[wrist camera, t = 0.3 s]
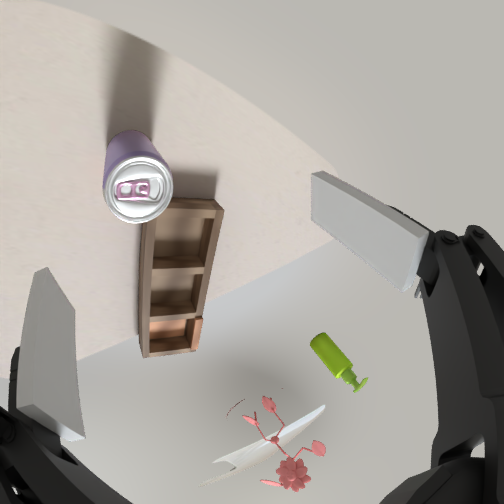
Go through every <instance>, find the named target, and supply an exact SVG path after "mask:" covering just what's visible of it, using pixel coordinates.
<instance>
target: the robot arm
mask: <svg viewBox="0 0 504 504" xmlns="http://www.w3.org/2000/svg"><path fill="white" fill-rule="evenodd" d="M311 221H313V222H314V223H315V224H317V225H318V226H319V227H321V228H322V229H323V230H325V231H326V232H327V233H329V234H330V235H331V236H333V237H334V238H335V239H336V240H338V241H339V242H340V243H342V244H343V245H344V246H346V247H347V248H348V249H350V251H352V252H353V253H354V254H355V255H357V256H358V257H359V258H361V259H362V260H363V261H364V262H365V263H367V264H368V265H369V266H370V267H372V268H373V269H374V270H375V271H376V272H378V273H379V274H380V275H381V276H382V277H384V278H385V279H386V280H387V281H388V282H390V283H391V284H392V285H393V286H394V287H396V288H397V289H398V290H399V291H400V292H404V291H405V290H407V289H408V288H409V287H411V286H412V285H413V282H414V279H415V277H416V274H417V275H418V276H419V277H421V279H420V282H419V284H418V287H417V289H416V292H415V298H417V296H418V294H419V292H420V291H421V296H420V298H423V303H424V307H425V312H426V317H427V323H428V328H429V334H430V340H431V346H432V353H433V360H434V368H435V376H436V388H437V401H438V419H439V420H438V421H439V427H438V432H437V434H436V436H435V438H434V441H433V445H432V453H431V454H432V455H431V469H430V470H428V471H426V472H423V473H421V474H418V475H416V476H413V477H410V478H408V479H407V480H405V481H404V482H403V483H402V484H401V485H399V486H398V487H397V488H396V489H394V490H393V491H392V492H391V493H389V494H388V495H387V496H386V497H385V498H384V499H383V500H382V501H381V502H380V504H504V251H503V250H502V249H501V248H500V246H499V245H498V244H497V243H496V242H495V240H494V239H493V238H492V237H491V236H490V235H489V234H488V233H487V232H486V231H485V230H484V229H483V228H481V227H480V226H476V225H469V226H468V227H467V229H466V232H465V235H464V236H459V237H458V236H457V235H455V234H454V233H452V232H450V231H445V230H440V231H437V232H436V233H434V232H433V231H431V230H430V229H428V228H427V227H425V226H424V225H422V224H421V223H419V222H417V221H416V220H414V219H413V218H410V217H409V216H408V215H406V214H403V212H401V211H399V210H398V209H396V208H394V207H392V206H388V205H386V204H384V203H382V202H380V201H379V200H377V199H375V198H373V197H372V196H370V195H368V194H366V193H364V192H362V191H361V190H359V189H357V188H355V187H353V186H352V185H350V184H348V183H346V182H344V181H342V180H340V179H338V178H337V177H335V176H333V175H331V174H329V173H327V172H325V171H320V172H316V173H312V174H311ZM480 263H482V264H483V266H484V269H483V271H482V273H481V275H480V276H479V275H478V274H477V270H478V268H479V265H480ZM10 371H11V373H10V383H9V399H8V411H6V410H5V409H3V408H2V407H1V406H0V504H132V503H131V502H130V501H128V500H127V499H125V498H124V497H123V496H121V495H120V494H119V493H117V492H116V491H115V490H113V489H112V488H111V487H109V486H108V485H107V484H106V483H104V482H103V481H102V480H101V479H100V478H98V477H97V476H96V475H95V474H93V473H92V472H91V471H90V470H89V469H88V468H87V467H85V466H84V465H83V464H82V463H81V462H80V461H79V460H78V459H77V458H76V457H75V456H74V455H73V454H72V453H70V452H69V450H68V449H67V448H65V447H64V446H62V445H61V443H60V437H62V438H64V439H65V440H67V441H69V442H71V441H76V440H80V439H85V438H86V437H85V432H84V426H83V420H82V413H81V407H80V398H79V389H78V379H77V368H76V345H75V309H74V308H73V306H72V305H71V303H70V302H69V300H68V299H67V297H66V296H65V294H64V293H63V291H62V290H61V288H60V286H59V285H58V283H57V282H56V280H55V278H54V277H53V275H52V273H51V272H50V270H49V268H48V267H46V268H44V269H42V270H39V271H37V272H35V273H34V277H33V281H32V285H31V289H30V294H29V298H28V303H27V308H26V313H25V318H24V324H23V330H22V337H21V345H20V347H17V348H16V349H15V352H14V354H13V357H12V359H11V369H10ZM483 442H485V458H479V457H471V452H472V450H473V449H474V448H475V447H476V446H478V445H479V444H481V443H483ZM12 487H14V488H16V490H17V493H18V494H15V492H14V490H13V488H12Z"/></svg>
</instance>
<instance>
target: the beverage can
mask: <svg viewBox="0 0 504 504" xmlns="http://www.w3.org/2000/svg"><path fill="white" fill-rule="evenodd" d="M172 194H173V177H172V173H171V170H170V168H169V166H168V165H167V163H166V162H165V160H164V159H163V158H162V156H161V155H160V154H159V152H158V151H157V150H156V148H155V147H154V145H153V144H152V143H151V141H150V140H149V139H148V137H147V136H146V135H145V134H143V133H141V132H139V131H136V130H127V131H123V132H121V133H119V134H117V135H116V136H115V137H114V138H113V139H112V140H111V141H110V143H109V145H108V147H107V151H106V158H105V167H104V176H103V196H104V199H105V202H106V204H107V205H108V207H109V209H110V210H111V212H112V213H113V214H114V215H115V216H116V217H118V218H119V219H121V220H123V221H126V222H129V223H143V222H147V221H150V220H152V219H154V218H156V217H157V216H159V215H160V214H161V213H162V212H163V211H164V210H165V209H166V207H167V206H168V204H169V202H170V200H171V198H172Z"/></svg>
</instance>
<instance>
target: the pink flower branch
mask: <svg viewBox="0 0 504 504" xmlns="http://www.w3.org/2000/svg"><path fill="white" fill-rule="evenodd" d="M239 403H240V402H239ZM262 403H263V405H264V407H265V409H266V410H268V411H269V412H272V413H275V411H276V405H275V403H274V402H273V401H272V398H270V399H269V398H266V397H265V396H263V397H262ZM254 414H255V420H254V419H253V418H251V417H249V416H243V417H244V418H245V419H246V420H247V421H248V422H250V423H251V424H253V425H256V426H257V428H258V425H259V423H258V422H257V418H256V412H254ZM275 415H276V416H277V414H276V413H275ZM277 417H278V416H277ZM278 419H279V420H280V421H281V419H280V418H279V417H278ZM281 422H282V421H281ZM282 424H283V427H284V423H283V422H282ZM283 427H282V428H281V430H282V429H283ZM258 429H259V428H258ZM281 430H280V431H279V433H280V432H281ZM259 431H260V429H259ZM260 433H261V434H262V432H261V431H260ZM279 433H278V434H277V435H276V436H273V437H272V438H271V440H267V441H271V443H273V444H276V445H277V446H278V447H279V449H280V450H281V451H282V452H283V453H284V454H285V455H286V456H287V457H288V458H287V461H281V462H280V464H281V465H280V468H278V469H277V470H276V473H277V474H278V475H281V476H280V478H279V481H280V482H281V484H279V483H277V482H273V481H269V480H260V481H262V482H264V483H266V484H269V485H273V486H284V488H285V489H287V490H288V489H289V487H291V488H292V490H294V491H295V492H298V491H299V488H301V489H303V488H305V485H304V483H307V482H309V481H310V480H311V478H310V477H309V476H308V475H306V473H307V467H305V466H304V463H303V460H302V459H298V460H297V461H296V462H295V461H294V459H295V458H296V457H297V456H298V454H299V453H300V452H301V451H302V450H303V449H305V450H308V451H311V452H313V453H314V454H316V455H318V456H324V454H325V452H326V448H325V446H324V444H322V443H321V442H319V441H315V440H314V441H313V443H312V450H310V449H307V448H303V447H302V449H301V450H300V451H299V452H298V453H297V455H296V456H295V457H294V458H291V457H290V456H288V455H287V454H286V453H285V452H284V451H283V450H282V448H281V447H280V446H279V445H278V444H277V443H278V442H279V438H278V437H277V436H278V435H279ZM262 436H263V434H262ZM263 438H264V439H265V437H264V436H263ZM265 440H266V439H265ZM282 483H283V484H282Z"/></svg>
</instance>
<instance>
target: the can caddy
mask: <svg viewBox="0 0 504 504" xmlns="http://www.w3.org/2000/svg"><path fill="white" fill-rule="evenodd" d="M223 215H224V209H223V208H222V207H221V206H220V205H219V204H218V203H217V202H216V201H215V200H214V199H196V198H175V197H172V198H171V200H170V202H169V204H168V206H167V207H166V209H165V210H164V211H163V212H162V213H161V214H160V215H159V216H157V217H156V218H154V219H152V220H150V221H147V222H143V223H142V233H141V247H140V265H139V302H138V319H139V344H140V348H141V352H142V356H143V358H147V357H156V356H165V355H172V354H180V353H187V352H194V351H196V349H198V344H199V339H200V333H201V328H202V323H203V318H202V315H203V309H204V304H205V299H206V294H207V289H208V284H209V279H210V275H211V270H212V265H213V260H214V256H215V251H216V246H217V242H218V237H219V233H220V228H221V224H222V219H223Z"/></svg>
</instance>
